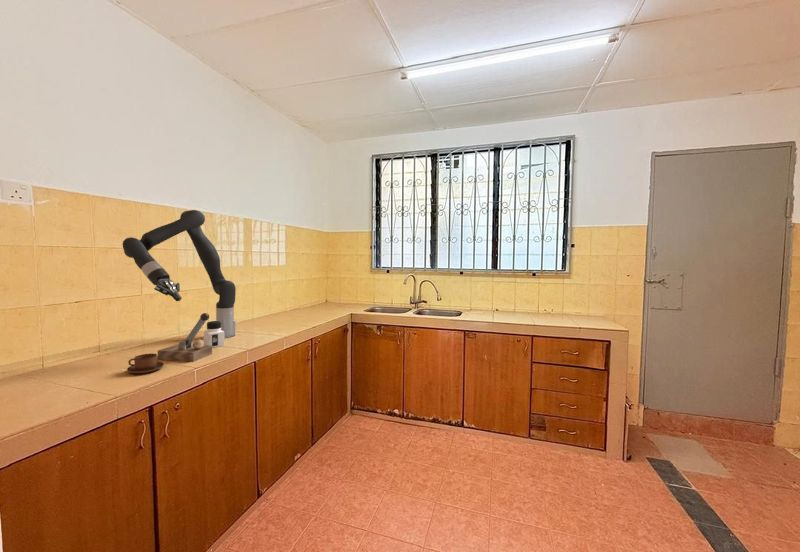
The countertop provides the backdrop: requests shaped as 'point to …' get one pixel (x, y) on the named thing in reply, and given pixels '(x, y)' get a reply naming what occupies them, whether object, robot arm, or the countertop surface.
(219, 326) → the container
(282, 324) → the countertop surface
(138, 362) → the cup and saucer
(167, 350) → the bench block
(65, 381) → the countertop surface
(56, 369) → the countertop surface
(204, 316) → the lever
